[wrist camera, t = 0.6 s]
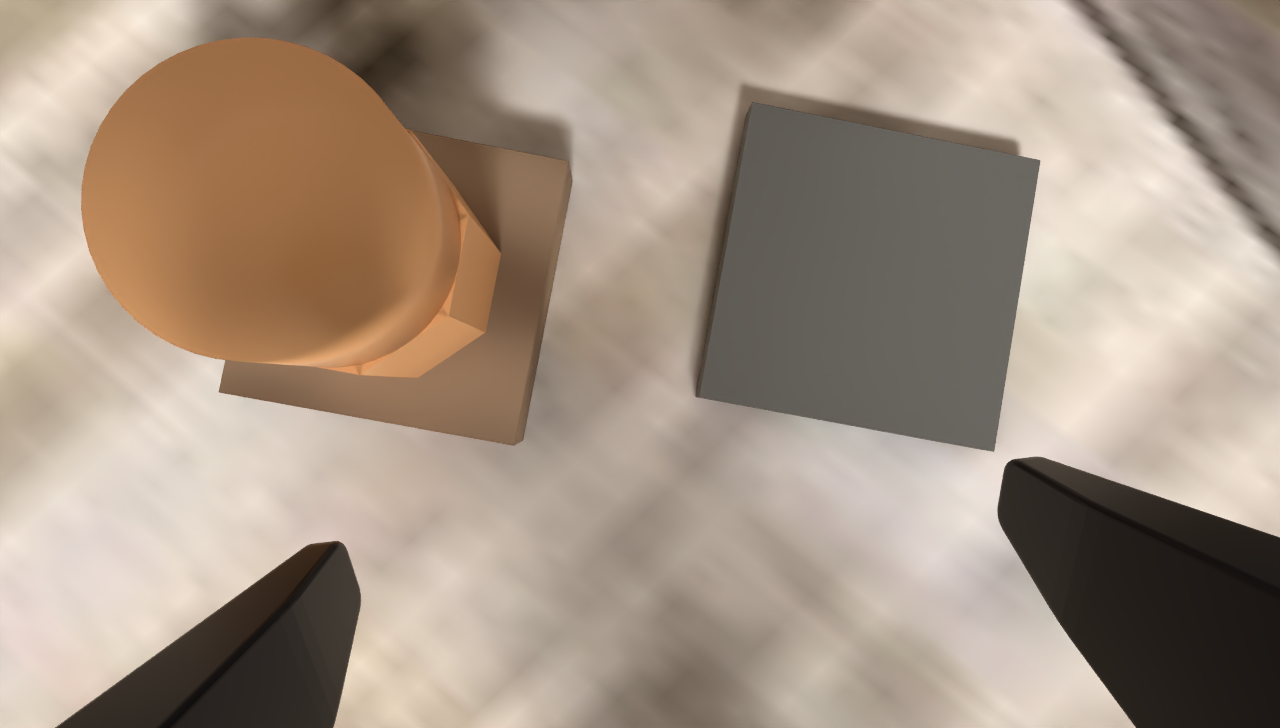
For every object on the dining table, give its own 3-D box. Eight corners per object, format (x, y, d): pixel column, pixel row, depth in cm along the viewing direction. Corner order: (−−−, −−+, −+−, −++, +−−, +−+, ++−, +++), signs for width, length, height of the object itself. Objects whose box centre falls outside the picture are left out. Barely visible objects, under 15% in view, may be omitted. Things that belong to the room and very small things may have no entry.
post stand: (522, 440, 22) (488, 460, 16) (255, 391, 21) (117, 393, 15) (572, 181, 22) (557, 105, 16) (310, 130, 22) (196, 32, 16)
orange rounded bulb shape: (474, 388, 20) (382, 389, 12) (278, 352, 20) (48, 328, 12) (511, 198, 20) (445, 72, 12) (318, 161, 20) (120, 7, 12)
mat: (976, 448, 22) (994, 451, 21) (695, 396, 22) (699, 397, 21) (1021, 170, 23) (1040, 160, 22) (746, 114, 22) (752, 102, 22)
